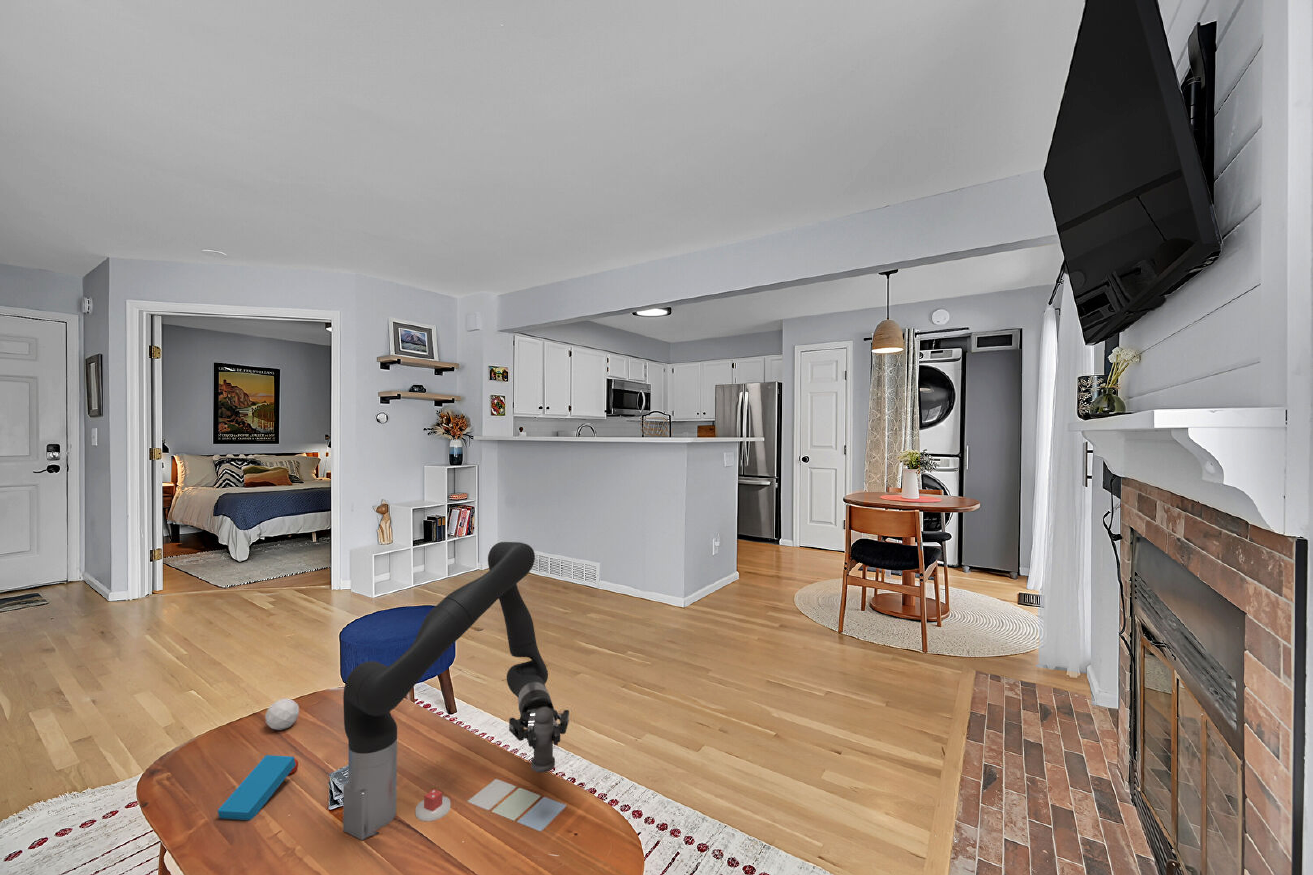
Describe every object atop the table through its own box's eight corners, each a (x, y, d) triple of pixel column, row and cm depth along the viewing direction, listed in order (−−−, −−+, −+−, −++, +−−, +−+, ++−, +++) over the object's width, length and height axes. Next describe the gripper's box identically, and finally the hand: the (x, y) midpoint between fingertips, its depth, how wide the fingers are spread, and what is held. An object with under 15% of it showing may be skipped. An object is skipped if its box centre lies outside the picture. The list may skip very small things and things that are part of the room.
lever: (255, 837, 122) (309, 766, 139) (248, 812, 120) (304, 743, 137) (224, 835, 122) (282, 765, 140) (217, 810, 120) (277, 742, 138)
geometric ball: (282, 740, 156) (274, 726, 151) (264, 724, 158) (254, 710, 153) (308, 717, 161) (301, 703, 156) (290, 702, 164) (282, 687, 159)
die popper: (431, 830, 118) (432, 807, 118) (408, 819, 121) (408, 797, 121) (457, 810, 125) (457, 788, 125) (434, 800, 128) (434, 779, 128)
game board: (539, 840, 116) (539, 834, 116) (462, 808, 125) (462, 803, 125) (570, 808, 126) (570, 803, 126) (497, 781, 135) (497, 776, 135)
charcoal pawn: (545, 775, 119) (546, 715, 119) (526, 768, 121) (527, 710, 121) (559, 762, 124) (560, 705, 123) (540, 756, 126) (541, 700, 126)
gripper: (504, 692, 134) (511, 730, 117) (565, 685, 138) (579, 719, 122) (504, 724, 134) (510, 766, 117) (564, 715, 138) (578, 754, 122)
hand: (545, 742), depth 120 cm, fingers closed on charcoal pawn, 4 cm apart
